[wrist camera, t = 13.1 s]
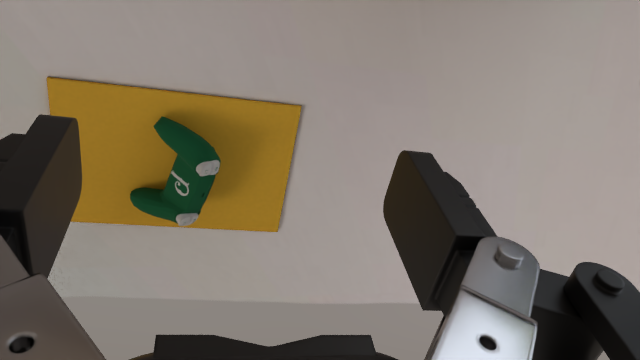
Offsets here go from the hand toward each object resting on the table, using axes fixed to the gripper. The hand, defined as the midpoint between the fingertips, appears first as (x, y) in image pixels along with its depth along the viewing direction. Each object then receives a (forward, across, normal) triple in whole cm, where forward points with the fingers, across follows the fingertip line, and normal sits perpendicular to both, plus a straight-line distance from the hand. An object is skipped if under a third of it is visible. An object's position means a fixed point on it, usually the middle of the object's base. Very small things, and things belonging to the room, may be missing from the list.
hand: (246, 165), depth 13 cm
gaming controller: (+28, +3, +18) cm, 33 cm away
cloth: (+28, +3, +18) cm, 34 cm away
